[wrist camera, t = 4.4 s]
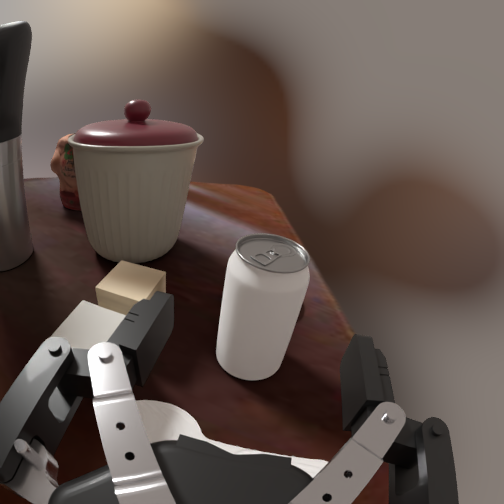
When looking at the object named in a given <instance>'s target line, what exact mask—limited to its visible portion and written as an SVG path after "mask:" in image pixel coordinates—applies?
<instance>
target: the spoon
mask: <svg viewBox="0 0 504 504" xmlns="http://www.w3.org/2000/svg"><path fill="white" fill-rule="evenodd" d="M135 401H136V400H135ZM136 404H137V407H138V410H139V413H140V416H141V419H142V422H143V425H144V428H145V431H146V434H147V437H148V439H149V442H150V444H151V443H154V442H158V441H164V440H178V438H179V435H180V434H182V435H185V436H188V437H192V438H196V439H199V440H203V441H207V442H209V443H211V444H213V445H215V446H217V447H219V448H221V449H223V450H225V451H227V452H230V453H232V454H237V455H240V454H270V455H276V456H283V457H289V456H286V455H278V454H274V453H272V454H271V453H268V452H266V453H265V452H260V451H256V450H251V449H245V448H241V447H238V446H233V445H227V444H224V443H221V442H216V441H213V440H210V439H207V438H206V437H205V436H204V435H203V434H202V432H201V428H200V427H199V425H198V424H197V422H196V421H195V420H194V419H193V417H192V416H191V415H190V414H188V413H187V412H186V411H184V410H183V409H180V407H177V406H175V405H172V404H168V403H165V402H159V401H155V400H153V401H150V400H139V401H136ZM291 458H292V460H291V465H294V466H296V467H298V468H300V469H302V470H303V471H305V472H306V473H308V474H309V475H310V476H311V477H312V478H313V477H314V476H315V475H316V474H317V473H318V472H319V471H320V470H321V469H322V468H323V467H324V466H325V465H326V464H327V463H328V462H326V461H325V460H320V459H318V460H315V459H312V460H311V459H306V458H298V457H294V456H291Z"/></svg>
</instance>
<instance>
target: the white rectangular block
mask: <svg viewBox="0 0 504 504" xmlns="http://www.w3.org/2000/svg"><path fill="white" fill-rule="evenodd" d="M125 316H126V315H123V314H120V313H117V312H114V311H111V310H109V309H106V308H103V307H100V306H97V305H95V304H92V303H89V302H87V301H84V300H83V301H82V302H81V303H80V304H79V305H78V306H77V307H76V308H75V309H74V311H73V312H72V313H71V314H70V315H69V316H68V317H67V318H66V320H65V321H64V322H63V323H62V324H61V325H60V326H59V328H58V329H57V330H56V331H55V332H54V333H53V335H52V336H51V337H63V338H65V339H66V340H67V341H68V342H69V343H70V346H71V348H79V349H91V348H92V347H93V346H94V345H96V344H98V343H102V342H107V341H108V339H109V338H110V337H111V335H112V334H113V332H114V331H115V330H116V328H117V327H118V326H119V324H120V323H121V321H122V320H124V317H125ZM51 337H50V338H51Z"/></svg>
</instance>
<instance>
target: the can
mask: <svg viewBox="0 0 504 504" xmlns="http://www.w3.org/2000/svg"><path fill="white" fill-rule="evenodd" d="M309 262H310V257H309V254H308V252H307V251H306V250H305V249H304V248H303V247H302V246H301V245H299V244H298V243H296V242H294V241H292V240H290V239H288V238H285V237H282V236H278V235H273V234H264V233H257V234H250V235H246V236H244V237H242V238H240V239H239V240H238V241H237V243H236V250H235V251H234V252H233V253H232V255H231V256H230V258H229V260H228V264H227V270H226V276H225V283H224V290H223V297H222V305H221V312H220V320H219V328H218V336H217V345H216V357H217V360H218V362H219V364H220V365H221V367H222V368H223V369H224V370H225V371H227V372H228V373H229V374H231V375H233V376H235V377H237V378H240V379H244V380H261V379H265V378H268V377H270V376H271V375H273V374H274V373H275V372H276V371H277V370H278V369H279V367H280V365H281V363H282V360H283V357H284V355H285V352H286V349H287V347H288V344H289V341H290V338H291V335H292V333H293V330H294V327H295V324H296V321H297V318H298V315H299V312H300V309H301V306H302V303H303V300H304V297H305V294H306V290H307V287H308V283H309V278H310V275H309V269H308V264H309Z"/></svg>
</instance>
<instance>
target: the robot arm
mask: <svg viewBox="0 0 504 504" xmlns="http://www.w3.org/2000/svg"><path fill="white" fill-rule="evenodd" d="M31 40H32V32H31V27H30V25H29V24H28V23H27V22H25V21H19V22H13V23H8V24H3V25H0V271H5V270H9V269H12V268H14V267H17V266H18V265H20V264H22V263H23V262H25V261H26V260H27V259H28V258H29V257H30V256H31V254H32V252H33V244H32V238H31V233H30V227H29V221H28V214H27V207H26V199H25V190H24V179H23V166H22V139H21V138H22V136H21V125H22V109H23V94H24V85H25V78H26V72H27V66H28V61H29V55H30V49H31ZM173 325H174V296H173V295H172V294H168V293H164V292H161V291H156V292H155V293H154V294H153V296H152V297H151V299H150V300H147V299H142V300H141V301H139V302H137V303H136V304H134V305H133V307H132V308H131V309H130V311H129V313H127V315H126V316H125V317H124V320H122V321H121V323H120V324H119V326H118V327H117V328H116V330H115V331H114V332H113V334H112V335H111V337H110V338H109V339H108V341H107V342H102V343H98V344H96V345H94V346H93V347H92V348H91V349H79V348H71V346H70V343H69V342H68V341H67V340H66V339H65V338H63V337H51V338H49V339H47V340H45V341H44V342H43V343H42V345H41V346H40V347H39V349H38V350H37V351H36V352H35V354H34V355H33V357H32V358H31V359H30V361H29V362H28V363H27V365H26V366H25V367H24V369H23V370H22V372H21V373H20V374H19V376H18V377H17V379H16V380H15V382H14V383H13V385H12V386H11V388H10V389H9V390H8V392H7V393H6V395H5V396H4V398H3V400H2V401H1V403H0V485H1V486H3V487H4V488H6V489H7V490H9V491H11V492H13V493H15V494H16V495H18V496H20V497H22V498H25V499H27V500H28V501H30V502H31V503H33V504H351V503H352V502H353V501H354V499H355V498H356V497H357V496H358V494H359V493H360V492H361V491H362V490H363V488H364V487H365V486H366V484H367V483H368V482H369V481H370V479H371V478H372V477H373V475H374V474H375V473H376V471H377V470H378V468H379V467H380V466H381V464H382V462H383V461H384V462H387V463H389V504H459V503H458V491H457V481H456V473H455V466H454V458H453V452H452V446H451V440H450V435H449V430H448V427H447V425H446V424H445V423H444V422H443V421H442V420H441V419H439V418H435V417H431V418H428V419H426V420H425V421H424V422H423V423H421V422H418V421H415V420H412V419H409V418H407V417H406V416H405V413H404V411H403V410H402V408H401V407H399V406H398V405H397V404H395V401H394V396H393V391H392V386H391V381H390V377H389V371H388V369H387V368H388V367H387V362H386V358H385V356H384V355H383V354H382V352H381V351H380V350H379V349H374V344H373V340H372V337H370V336H365V335H359V334H355V335H354V336H353V338H352V340H351V342H350V344H349V346H348V348H347V350H346V352H345V354H344V356H343V358H342V361H341V365H340V378H341V395H342V417H343V431H351V432H352V437H351V438H350V439H349V440H348V441H347V442H346V444H345V445H344V446H343V447H342V448H341V449H340V450H339V451H338V453H337V454H336V455H335V456H334V457H333V458H332V459H331V460H330V461H329V462H328V463H327V464H326V465H325V466H324V467H323V468H322V469H321V470H320V471H319V472H318V473H317V474H316V475H315V476H314V477H313V478H312V477H311V476H310V475H309V474H308V473H306V472H305V471H303V470H302V469H300V468H298V467H296V466H294V465H291V460H292V458H291V457H283V456H276V455H270V454H240V455H237V454H232V453H230V452H227V451H225V450H223V449H221V448H219V447H217V446H215V445H213V444H211V443H209V442H207V441H203V440H199V439H196V438H192V437H188V436H185V435H182V434H180V435H179V438H178V440H164V441H158V442H154V443H151V444H150V442H149V439H148V437H147V434H146V431H145V428H144V425H143V422H142V419H141V416H140V413H139V410H138V407H137V404H136V401H135V398H134V394H133V391H132V389H133V387H134V385H135V384H136V385H138V386H141V387H143V386H144V384H145V382H146V380H147V378H148V376H149V374H150V372H151V370H152V368H153V366H154V364H155V363H156V361H157V359H158V357H159V355H160V353H161V351H162V349H163V347H164V346H165V344H166V342H167V340H168V338H169V336H170V334H171V332H172V329H173ZM83 397H86V398H93V405H94V410H95V415H96V420H97V424H98V428H99V433H100V437H101V441H102V445H103V448H104V452H105V456H106V459H107V463H108V465H105V466H103V467H101V468H99V469H97V470H94V471H92V472H90V473H87V474H85V475H83V476H80V477H78V478H76V479H73V480H71V481H68V482H66V483H63V484H62V485H60V486H58V484H57V474H58V463H57V461H56V459H55V458H54V454H55V452H56V449H57V447H58V445H59V443H60V441H61V439H62V437H63V435H64V433H65V431H66V429H67V427H68V425H69V423H70V421H71V420H72V418H73V416H74V414H75V412H76V410H77V408H78V406H79V404H80V402H81V401H82V399H83Z"/></svg>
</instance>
